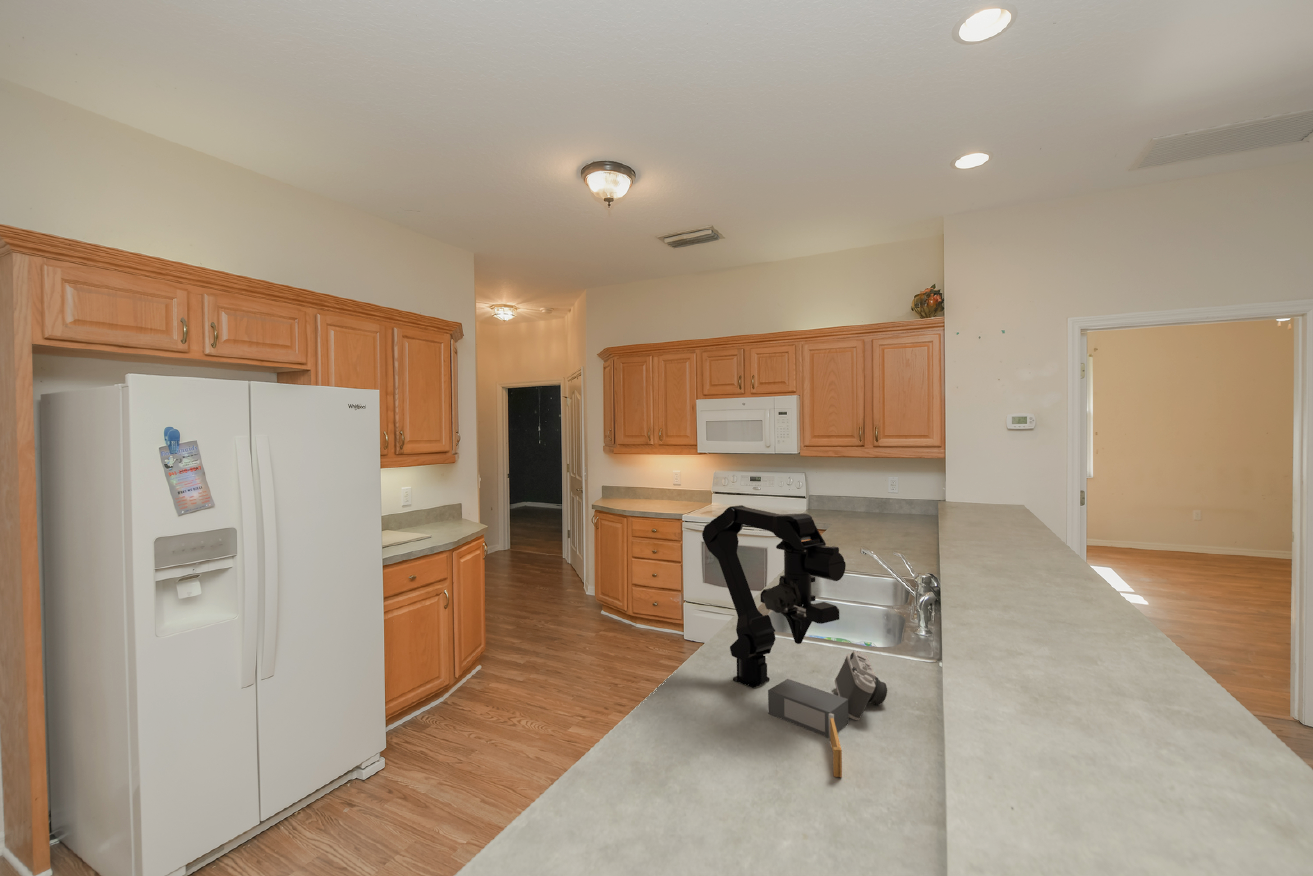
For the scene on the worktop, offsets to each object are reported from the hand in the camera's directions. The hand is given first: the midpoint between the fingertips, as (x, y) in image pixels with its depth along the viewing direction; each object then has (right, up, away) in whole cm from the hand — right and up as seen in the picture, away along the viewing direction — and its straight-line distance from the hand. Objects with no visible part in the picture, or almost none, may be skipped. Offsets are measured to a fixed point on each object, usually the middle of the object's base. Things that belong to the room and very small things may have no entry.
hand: (798, 643), depth 123 cm
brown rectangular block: (+1, -13, -22) cm, 25 cm away
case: (0, -13, -7) cm, 15 cm away
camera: (+14, -13, -1) cm, 19 cm away
